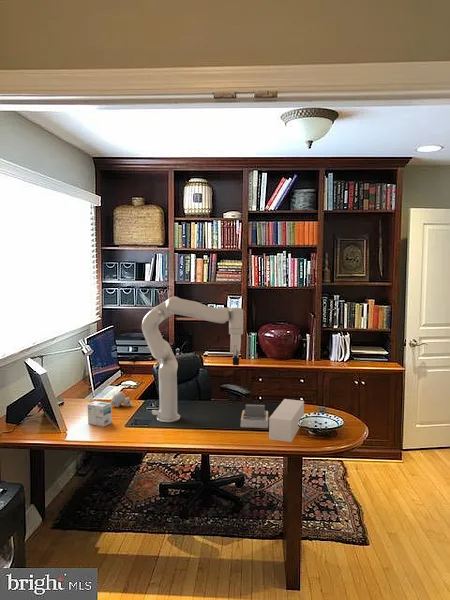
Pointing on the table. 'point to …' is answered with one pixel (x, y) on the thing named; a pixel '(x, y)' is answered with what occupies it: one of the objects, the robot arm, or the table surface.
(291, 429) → the grey rectangular block
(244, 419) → the rack
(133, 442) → the table surface
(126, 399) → the round bodied animal figurine
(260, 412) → the panel
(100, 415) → the light bulb box
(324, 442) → the table surface
